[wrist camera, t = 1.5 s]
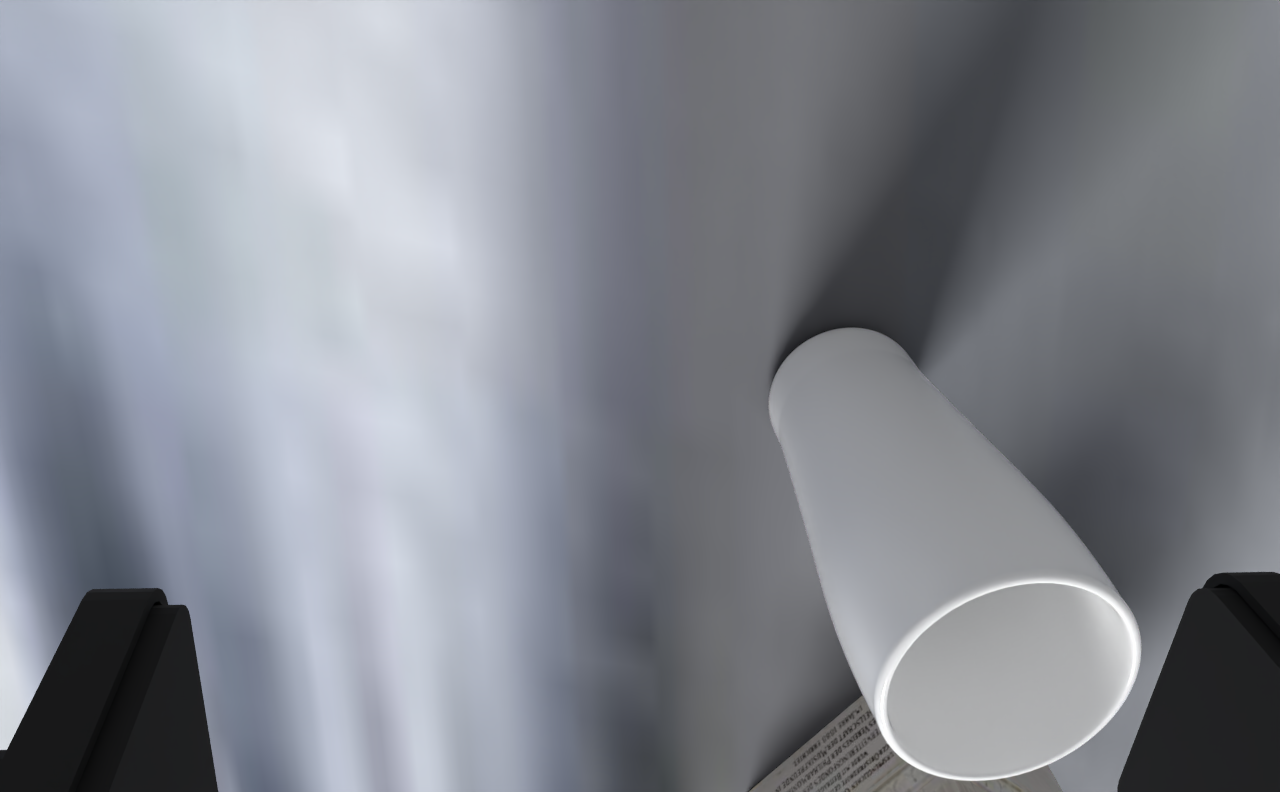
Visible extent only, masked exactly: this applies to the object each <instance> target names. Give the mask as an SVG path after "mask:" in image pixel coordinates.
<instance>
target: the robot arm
mask: <svg viewBox="0 0 1280 792" xmlns="http://www.w3.org/2000/svg"><path fill="white" fill-rule="evenodd" d="M0 792H218V788H217V782H216V775H215V769H214V763H213V757H212V750H211V744H210V738H209V732H208V725H207V719H206V713H205V707H204V700H203V694H202V688H201V682H200V675H199V669H198V663H197V657H196V650H195V644H194V638H193V632H192V625H191V619H190V615H189V611H188V609H187V607H186V606H185V605H168V602H167V599H166V596H165V594H164V592H163V590H161V589H159V588H142V589H92V590H90V591H89V592H87V593H86V595H85V596H84V598H83V599H82V601H81V603H80V605H79V607H78V609H77V611H76V613H75V615H74V617H73V619H72V621H71V623H70V625H69V627H68V629H67V631H66V633H65V635H64V637H63V639H62V641H61V643H60V645H59V647H58V649H57V651H56V653H55V655H54V657H53V659H52V661H51V663H50V665H49V667H48V669H47V671H46V673H45V675H44V677H43V679H42V681H41V683H40V685H39V687H38V689H37V691H36V693H35V695H34V697H33V699H32V701H31V703H30V705H29V707H28V709H27V711H26V713H25V715H24V717H23V719H22V721H21V723H20V725H19V727H18V729H17V731H16V733H15V735H14V737H13V739H12V741H11V743H10V745H9V747H8V749H7V750H0ZM1118 792H1280V574H1278V573H1275V572H1242V573H1219V574H1214V575H1213V576H1212V577H1211V578H1209V579H1208V580H1207V582H1206V583H1205V585H1204V587H1203V588H1202V589H1197V590H1196V591H1195V592H1194V593H1192V595H1191V597H1190V599H1189V601H1188V603H1187V606H1186V608H1185V611H1184V614H1183V616H1182V619H1181V621H1180V624H1179V626H1178V629H1177V632H1176V634H1175V637H1174V639H1173V642H1172V645H1171V647H1170V650H1169V652H1168V655H1167V658H1166V660H1165V663H1164V665H1163V668H1162V671H1161V673H1160V676H1159V678H1158V681H1157V684H1156V686H1155V689H1154V691H1153V694H1152V696H1151V699H1150V702H1149V704H1148V707H1147V709H1146V712H1145V715H1144V717H1143V720H1142V722H1141V725H1140V728H1139V730H1138V733H1137V735H1136V738H1135V741H1134V743H1133V746H1132V748H1131V751H1130V754H1129V756H1128V759H1127V761H1126V764H1125V767H1124V769H1123V772H1122V774H1121V777H1120V779H1119V784H1118Z"/></svg>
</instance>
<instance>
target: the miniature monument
mask: <svg viewBox="0 0 1280 792" xmlns="http://www.w3.org/2000/svg"><path fill="white" fill-rule="evenodd" d="M749 792H1063V791H1062V789H1061V788H1060V786H1059V784H1058V782H1057V781H1056V779H1055V777H1054V776H1053V774H1052V772H1051V770H1050V769H1049V767H1048V765H1046V766H1043V767H1041V768H1038V769H1036V770H1033V771H1030V772H1027V773H1023V774H1020V775H1016V776H1012V777H1007V778H1002V779H995V780H985V781H963V780H954V779H947V778H943V777H938V776H935V775H932V774H929V773H926V772H924V771H922V770H919V769H917V768H915V767H914V766H912V765H910V764H909V763H907V762H906V761H904V760H903V759H902V758H901V757H899V756H898V755H897V754H896V753H895V752H894V751H893V750H892V749H891V747H890V746H889V745H888V743H887V742H886V741H885V739H884V737H883V736H882V734H881V732H880V730H879V727H878V725H877V723H876V721H875V719H874V717H873V715H872V713H871V711H870V709H869V707H868V705H867V703H866V701H865V699H864V697H863V695H862V696H861V697H860V698H859V699H857V700H856V701H855V702H854V703H853V704H851V705H850V706H849V707H848V708H847V709H846V710H844V711H843V712H842V713H841V714H840V715H838V716H837V717H836V718H835V719H834V720H833V721H831V722H830V723H829V724H828V725H827V726H826V727H824V728H823V729H822V730H821V731H820V732H818V733H817V734H816V735H815V736H814V737H813V738H811V739H810V740H809V741H808V742H807V743H805V744H804V745H803V746H802V747H801V748H800V749H798V750H797V751H796V752H795V753H794V754H793V755H791V756H790V757H789V758H788V759H787V760H785V761H784V762H783V763H782V764H781V765H780V766H778V767H777V768H776V769H775V770H774V771H772V772H771V773H770V774H769V775H768V776H767V777H765V778H764V779H763V780H762V781H761V782H760V783H758V784H757V785H756V786H755V787H754V788H752V789H751V790H750V791H749Z"/></svg>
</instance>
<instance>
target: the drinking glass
mask: <svg viewBox="0 0 1280 792" xmlns="http://www.w3.org/2000/svg"><path fill="white" fill-rule="evenodd" d="M768 405H769V416H770V420H771V424H772V427H773V430H774V432H775V434H776V437H777V439H778V441H779V443H780V446H781V448H782V451H783V454H784V457H785V460H786V464H787V467H788V470H789V474H790V477H791V481H792V484H793V488H794V491H795V495H796V498H797V502H798V505H799V509H800V512H801V516H802V519H803V523H804V526H805V530H806V533H807V537H808V541H809V544H810V548H811V551H812V555H813V559H814V562H815V566H816V570H817V573H818V577H819V580H820V584H821V587H822V591H823V594H824V598H825V601H826V605H827V608H828V611H829V614H830V617H831V620H832V623H833V626H834V628H835V631H836V634H837V637H838V639H839V642H840V644H841V647H842V649H843V652H844V654H845V657H846V659H847V662H848V664H849V666H850V669H851V671H852V673H853V676H854V678H855V680H856V682H857V684H858V687H859V689H860V691H861V693H862V695H863V697H864V699H865V701H866V703H867V705H868V707H869V709H870V711H871V713H872V715H873V717H874V719H875V721H876V723H877V725H878V727H879V730H880V732H881V734H882V736H883V737H884V739H885V741H886V742H887V743H888V745H889V746H890V747H891V749H892V750H893V751H894V752H895V753H896V754H897V755H898V756H899V757H901V758H902V759H903V760H904V761H906V762H907V763H909V764H910V765H912V766H914V767H915V768H917V769H919V770H922V771H924V772H926V773H929V774H932V775H935V776H938V777H943V778H947V779H954V780H963V781H985V780H995V779H1002V778H1007V777H1012V776H1016V775H1020V774H1023V773H1027V772H1030V771H1033V770H1036V769H1038V768H1041V767H1043V766H1046V765H1048V764H1050V763H1052V762H1055V761H1056V760H1058V759H1060V758H1062V757H1064V756H1066V755H1068V754H1069V753H1071V752H1073V751H1074V750H1076V749H1077V748H1079V747H1080V746H1081V745H1083V744H1084V743H1086V742H1087V741H1088V740H1090V739H1091V738H1092V737H1093V736H1094V735H1096V734H1097V733H1098V732H1099V731H1100V730H1101V729H1102V728H1103V727H1104V726H1105V725H1106V724H1107V723H1108V722H1109V721H1110V720H1111V719H1112V718H1113V716H1114V715H1115V714H1116V713H1117V711H1118V710H1119V709H1120V708H1121V706H1122V704H1123V703H1124V701H1125V700H1126V698H1127V697H1128V695H1129V693H1130V691H1131V689H1132V687H1133V685H1134V682H1135V680H1136V677H1137V674H1138V670H1139V666H1140V661H1141V650H1142V646H1141V636H1140V631H1139V627H1138V624H1137V621H1136V619H1135V617H1134V615H1133V613H1132V611H1131V609H1130V608H1129V606H1128V605H1127V604H1126V602H1125V601H1124V600H1123V598H1122V597H1121V595H1120V594H1119V592H1118V591H1117V589H1116V588H1115V586H1114V585H1113V583H1112V582H1111V580H1110V579H1109V577H1108V576H1107V574H1106V573H1105V571H1104V570H1103V569H1102V567H1101V566H1100V564H1099V563H1098V562H1097V560H1096V559H1095V558H1094V556H1093V555H1092V553H1091V552H1090V551H1089V549H1088V548H1087V547H1086V545H1085V544H1084V543H1083V541H1082V540H1081V539H1080V538H1079V536H1078V535H1077V534H1076V532H1075V531H1074V530H1073V529H1072V527H1071V526H1070V525H1069V524H1068V523H1067V521H1066V520H1065V519H1064V518H1063V517H1062V515H1061V514H1060V513H1059V512H1058V511H1057V510H1056V508H1055V507H1054V506H1053V505H1052V504H1051V503H1050V502H1049V501H1048V500H1047V499H1046V497H1045V496H1044V495H1043V494H1042V493H1041V492H1040V491H1039V490H1038V489H1037V488H1036V487H1035V486H1034V485H1033V484H1032V483H1031V482H1030V481H1029V480H1028V479H1027V478H1026V477H1025V476H1024V475H1023V474H1022V473H1021V472H1020V471H1019V470H1018V469H1017V468H1016V467H1015V466H1014V465H1013V464H1012V463H1011V462H1010V461H1009V460H1008V459H1007V458H1006V457H1005V456H1004V455H1003V454H1002V453H1001V452H1000V451H999V450H998V449H997V448H996V447H995V446H994V445H993V444H992V443H991V442H990V441H989V440H988V439H987V438H986V437H985V436H984V435H983V434H982V433H981V432H980V431H979V430H978V429H977V428H976V427H975V426H974V425H973V424H972V423H971V422H970V421H969V420H968V419H967V418H966V417H965V416H964V415H963V414H962V413H961V412H960V411H959V410H958V409H957V408H956V407H955V406H954V405H953V404H952V403H951V402H950V401H949V400H948V399H947V398H946V397H945V396H944V395H943V394H942V393H941V392H940V391H939V390H938V389H937V388H936V387H935V385H934V384H933V383H932V382H931V381H930V380H929V379H928V378H927V377H926V376H925V375H924V374H923V373H922V372H921V371H920V369H919V368H918V367H917V365H916V364H915V363H914V361H913V360H912V359H911V357H910V356H909V355H908V353H907V352H906V351H905V350H904V349H903V348H902V347H901V346H900V345H899V344H898V343H896V342H895V341H894V340H892V339H891V338H889V337H888V336H886V335H884V334H882V333H879V332H876V331H873V330H870V329H864V328H855V327H849V328H838V329H834V330H830V331H826V332H823V333H821V334H818V335H816V336H814V337H812V338H810V339H808V340H807V341H805V342H804V343H802V344H801V345H799V346H798V347H797V348H796V349H795V350H794V351H792V352H791V353H790V354H789V356H788V357H787V358H786V359H785V360H784V361H783V363H782V364H781V366H780V367H779V369H778V371H777V373H776V374H775V377H774V379H773V382H772V385H771V388H770V393H769V402H768Z"/></svg>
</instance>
